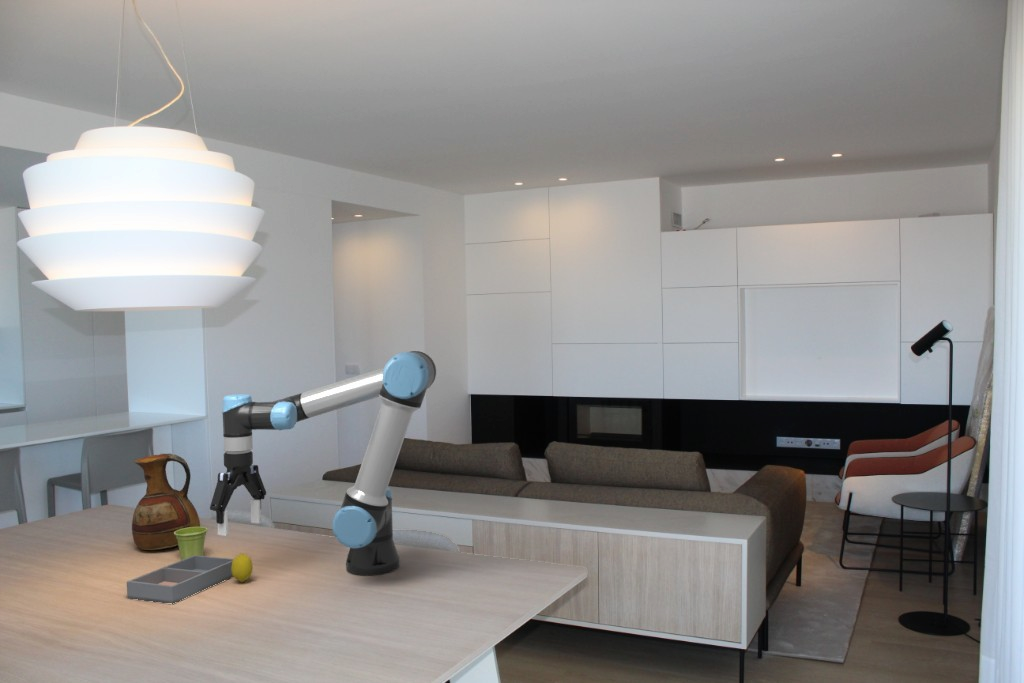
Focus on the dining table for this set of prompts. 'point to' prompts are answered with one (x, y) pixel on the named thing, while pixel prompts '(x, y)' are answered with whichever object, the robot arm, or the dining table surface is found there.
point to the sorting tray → (180, 579)
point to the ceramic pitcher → (162, 506)
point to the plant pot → (191, 541)
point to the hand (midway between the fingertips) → (239, 528)
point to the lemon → (241, 567)
